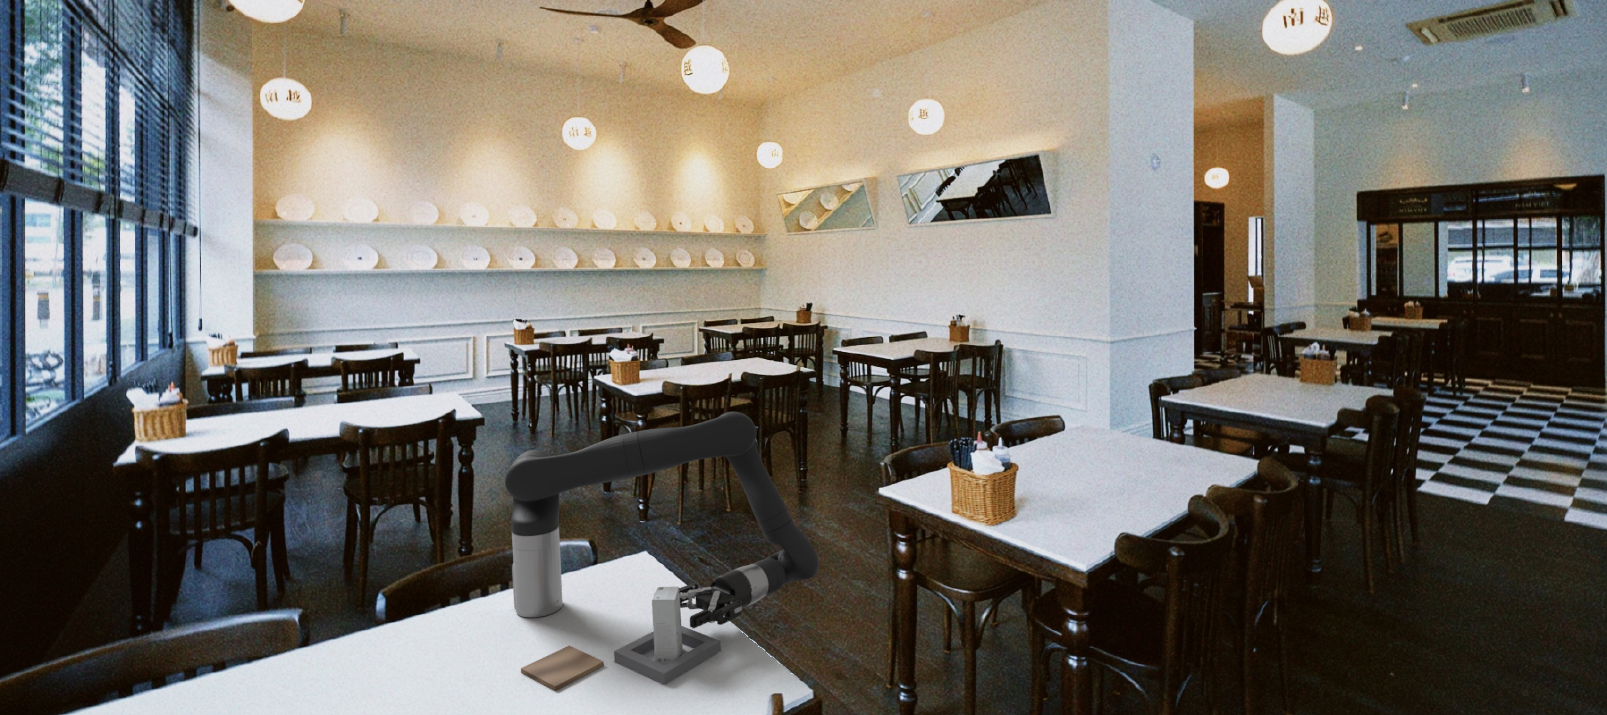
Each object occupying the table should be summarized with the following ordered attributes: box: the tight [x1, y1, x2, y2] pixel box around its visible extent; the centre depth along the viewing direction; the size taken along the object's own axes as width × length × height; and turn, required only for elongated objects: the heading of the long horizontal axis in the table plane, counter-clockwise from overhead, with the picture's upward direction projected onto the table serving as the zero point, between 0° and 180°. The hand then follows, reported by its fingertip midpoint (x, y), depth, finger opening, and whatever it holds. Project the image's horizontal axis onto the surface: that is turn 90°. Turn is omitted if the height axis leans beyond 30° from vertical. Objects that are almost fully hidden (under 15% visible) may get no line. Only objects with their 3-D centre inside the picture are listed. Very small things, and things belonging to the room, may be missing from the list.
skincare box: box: [651, 586, 683, 665], centre depth 134 cm, size 6×4×12 cm
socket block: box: [613, 625, 722, 686], centre depth 135 cm, size 13×14×2 cm
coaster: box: [520, 645, 605, 692], centre depth 131 cm, size 10×10×1 cm
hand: (676, 615), depth 136 cm, fingers open, 8 cm apart
